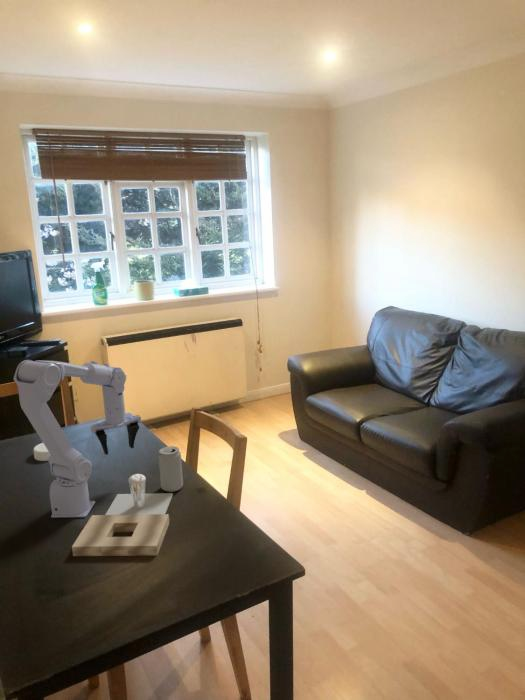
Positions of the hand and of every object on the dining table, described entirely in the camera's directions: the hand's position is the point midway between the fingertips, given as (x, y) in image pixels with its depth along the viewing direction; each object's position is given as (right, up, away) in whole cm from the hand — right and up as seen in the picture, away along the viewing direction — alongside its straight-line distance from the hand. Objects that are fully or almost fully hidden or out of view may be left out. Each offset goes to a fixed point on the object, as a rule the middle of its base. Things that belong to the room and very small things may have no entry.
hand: (118, 450), depth 162 cm
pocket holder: (+8, -17, -27) cm, 33 cm away
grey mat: (+9, -13, -12) cm, 20 cm away
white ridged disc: (-30, -6, +24) cm, 39 cm away
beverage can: (+16, -11, -2) cm, 20 cm away
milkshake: (+9, -13, -13) cm, 21 cm away
